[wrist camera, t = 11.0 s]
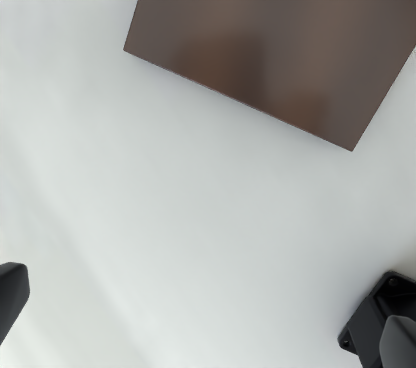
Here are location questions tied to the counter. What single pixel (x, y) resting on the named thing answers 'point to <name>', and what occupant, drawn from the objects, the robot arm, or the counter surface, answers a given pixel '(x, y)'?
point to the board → (284, 55)
